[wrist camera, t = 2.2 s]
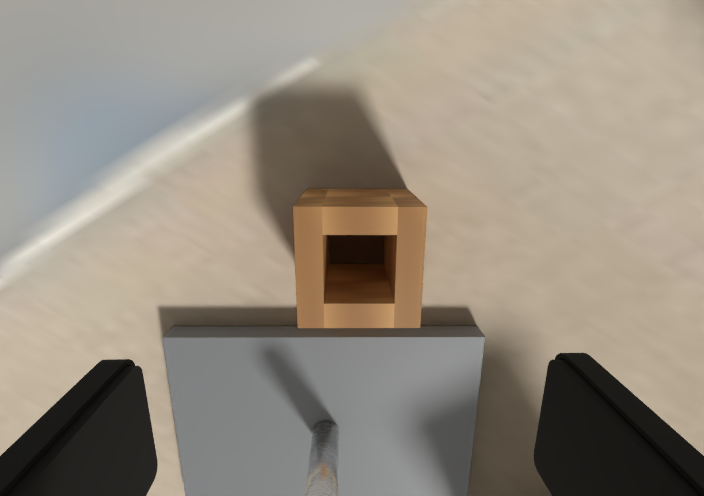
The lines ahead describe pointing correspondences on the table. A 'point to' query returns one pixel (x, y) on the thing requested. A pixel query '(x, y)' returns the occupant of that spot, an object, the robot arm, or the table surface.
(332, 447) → the rod
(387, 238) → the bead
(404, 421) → the grey rectangular slab
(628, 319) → the table surface
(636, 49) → the table surface
